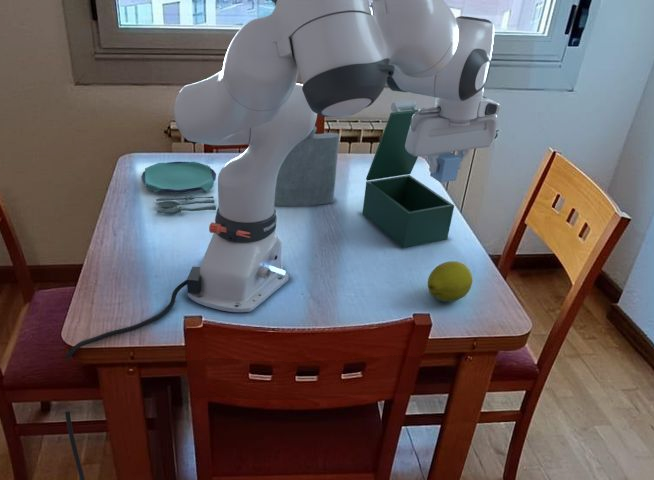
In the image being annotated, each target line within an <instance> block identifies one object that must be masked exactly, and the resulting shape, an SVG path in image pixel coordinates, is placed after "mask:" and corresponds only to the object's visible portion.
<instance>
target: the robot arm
mask: <svg viewBox="0 0 654 480" xmlns="http://www.w3.org/2000/svg"><path fill="white" fill-rule="evenodd" d="M271 1H272V3H274V8H273V11H272V12H271V13H270V14H269V15H267V16H262V17H257V18H253V19H252V20H249V21H248V22H247V23H245V24H244V25H242V26H241V28H239V30H238V31H237V32H236V33H235V35H234V37H233V38H232V40H231V42H230V44H229V45H228V48H227V51H226V53H225V56H224V60H223V65H222V70H220V71H218V72H217V73H215V74H213V75H211V76H210V77H208V78H206V79H203V80H200V81H197V82H193V83H190V84H186V85H184V86H183V87H182V88H181V89H180V90H179V92H178V94H177V95H176V98H175V101H174V104H173V118H174V122H175V125H176V127H177V130H178V132H179V133H180V134H181V136H182V137H183V138H184V139H186V141H188V142H192V143H197V144H202V145H210V146H239V145H248V147H247V148H246V149H245V150H244V151H243V152H242V153H241V154H240V155H238V156H236V157H234V158H232V159H230V160H229V161H227V162H226V163H225V164H224V165H223V166H222V168H221V169H220V171H219V173H218V176H217V195H218V196H217V197H218V198H217V199H218V207H217V208H216V214H215V217H214V221H213V222H210V224H209V227H208V230H209V233H210V234H212V236H211V238H210V241H209V243H208V245H207V248H206V250H205V253H204V255H203V258H202V261H201V263H200V266H192V267H191V269H190V271H189V273H188V276H187V278H186V279H185V280H184V281H182V282H181V283H179V284H178V285H177V286H176V287H175V289H174V290H173V292H172V294H171V298H170V302H169V303H168V304H167V305H166V307H165V308H164V309H163V310H161V312H159V313H158V314H156V315H154V316H152V317H150V318H148V319H145V320H143V321H141V322H139V323H135V324H133V325H130V326H127V327H122V328H119V329H115V330H110V331H108V332H105V333H102V334H99V335H95V336H94V337H90V338H87V339H84V340H81V341H80V342H78V343H76V344H75V345H74V346H72V348H70V350H69V351H68V352H67V353H66V356H65V357H64V360H70V359H71V357H72V356H73V355H74V353H75V352H76V351H77V350H78V349H80V348H82V347H83V346H86V345H89V344H92V343H95V342H98V341H101V340H103V339H105V338H109V337H112V336H116V335H121V334H124V333H127V332H132V331H135V330H137V329H140V328H142V327H144V326H147V325H149V324H151V323H153V322H156V321H157V320H159V319H161V318H162V317H163V316H165V315H166V314H168V312H169V311H171V309H172V308H173V307H174V305H175V303H176V299H177V295H178V293H179V292H180V291H181V289H183V288H184V287H186V288H187V297H188V298H189V299H191V301H193V302H195V303H197V304H199V305H201V306H205V307H207V308H209V309H215V310H217V311H222V312H223V311H224V312H230V313H250V312H252V311H254V310H255V309H256V308H257V307H258V306H260V305H261V304H262V303H263V302H264V301H266V300H267V299H268V298H269V297H270V296H271V295H273V294H274V293H275V292H276V291H278V290H279V289H280V288H281V287H282V286H283V285H285V284H286V283H287V282H288V281H289V280H290V279H289V274H288V273H287V272H286V270H284V264H283V263H284V262H283V243H282V240H281V239H280V238H279V236H278V234H277V232H276V228H277V220H278V218H277V210H276V208H275V205H274V202H275V189H276V181H277V175H278V172H279V169H280V167H281V165H282V163H283V161H284V159H285V158H286V156H287V155H288V154H289V152H290V151H291V150H292V149H293V148H294V147H295V146H296V145H297V144H298V143H300V142H301V141H302V140H304V139H305V138H307V136H308V135H309V134H310V133H311V131H312V130H313V128H314V126H316V123H317V118H318V115H319V116H321V117H324V118H346V117H350V116H353V115H355V114H357V113H360V112H362V111H363V110H364V109H367V108H368V107H370V106H371V105H373V104H374V103H375V102H376V100H377V99H378V98H379V97H380V96H381V94H382V92H383V91H384V89H385V87H386V85H387V87H388V88H389V89H390V90H391V91H392V92H401V93H410V94H416V95H420V96H426V97H432V98H435V102H434V106H432V107H427V108H426V107H422V108H419V109H418V110H419V111H418V112H416V113H415V114H414V115H413V116H412V120H411V125H410V128H409V131H408V135H407V139H406V143H405V149H406V150H407V152H408V153H410V154H411V155H413V156H415V157H418V158H419V157H424V156H426V157H427V159H428V162H429V168H428V170H429V173H438V172H439V171H440V170H439V169H440V165H439V164H438V163H437V161H436V158H438V156H439V154H440V153H447V152H451V153H453V152H454V153H455V152H457V154H455V155H456V156H458V157H460V158H461V159H460V164H459V169H458V171H459V170H461V167H462V163H463V162H464V161H465V159H466V157H468V154H469V151H471V150H476V149H483V148H489V147H490V146H492V144H493V143H494V141H495V138H496V134H497V129H498V124H499V123H498V122H499V119H498V116H497V115H499V113H500V111H501V104H500V103H498V102H496V101H495V100H493V99H490V98H488V97H486V96H484V91H485V89H484V88H485V87H486V84H487V81H488V78H489V74H490V69H491V64H492V53H493V45H494V37H495V23H493V21H491V20H489V19H486V18H480V17H474V16H467V15H466V16H464V15H460V16H455V14H454V13H453V11H452V9H451V8H450V7H449V5H448V4H447V2H446V1H445V0H371V2H370V1H369V0H271ZM298 77H300V80H301V83H297V81H298ZM418 113H419V114H418ZM64 414H65V422H66V427H67V433H68V437H69V442H70V445H71V446H70V447H71V450H72V454H73V457H74V461H75V465H76V469H77V472H78V476H79V480H86V479H85V475H84V472H83V466H82V463H81V459H80V456H79V452H78V447H77V444H76V440H75V435H74V430H73V424H72V423H73V422H72V418H71V411H70V410H69V411H64Z"/></svg>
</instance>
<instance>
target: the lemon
mask: <svg viewBox="0 0 654 480" xmlns="http://www.w3.org/2000/svg"><path fill="white" fill-rule="evenodd" d="M472 284H473V275H472V272H471V269H469V267H468V266H467V265H466V264H465V263H463V262H460V261H458V260H457V261H455V260H451V261H449V260H448V261H445V262H443V263H440V264H439V265H437V266H436V267H435V268H434V269H433V270H432V271H431V272H430V274H429V275H428V278H427V288H428V292H429V293H430V294H431V296H433V297H434V298H435V299H437V300H438V301H441V302H447V303H448V302H449V303H450V302H456V301H459V300H460V299H462V298H464V297H465V296H466V295H467V294H468V293H469V292H470V290H471V288H472Z"/></svg>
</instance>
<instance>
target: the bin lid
mask: <svg viewBox="0 0 654 480" xmlns="http://www.w3.org/2000/svg"><path fill="white" fill-rule="evenodd" d="M390 109H391V112H390V114H389V117H388V119H387V122H386V125H385V127H384V129H383V132H382V135H381V138H380V141H379V143H378V145H377V148H376V151H375V154H374V157H373V158H372V161H371V164H370V166H369V170H368V171H367V174H366V177H365V180H366V181H373V180H380V179H386V178H393V177H399V176H406V175H411V173H412V172H413V169H414V167H415V165H416V162H417V161H418V158H419V156H418V157H415V156H413V155H411V154H410V153H408V152H407V150H406V149H405V143H406V139H407V135H408V131H409V128H410V125H411V120H412V116H413V115H414V114H415V113H416V112H418V111H419V109H418V108H417V102H416V100H405V101H396V102H392V103H391V105H390ZM418 114H419V113H418Z"/></svg>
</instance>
